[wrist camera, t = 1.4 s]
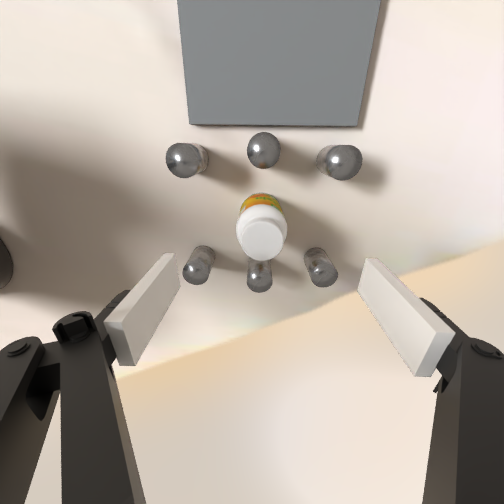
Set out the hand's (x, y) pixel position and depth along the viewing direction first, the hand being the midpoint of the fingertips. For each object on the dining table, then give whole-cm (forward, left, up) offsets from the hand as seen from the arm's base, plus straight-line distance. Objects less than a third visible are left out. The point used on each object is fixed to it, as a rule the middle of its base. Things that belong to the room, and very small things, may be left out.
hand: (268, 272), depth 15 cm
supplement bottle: (0, 0, -15) cm, 15 cm away
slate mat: (+1, +16, -15) cm, 22 cm away
